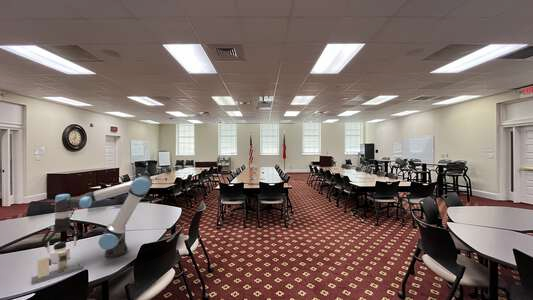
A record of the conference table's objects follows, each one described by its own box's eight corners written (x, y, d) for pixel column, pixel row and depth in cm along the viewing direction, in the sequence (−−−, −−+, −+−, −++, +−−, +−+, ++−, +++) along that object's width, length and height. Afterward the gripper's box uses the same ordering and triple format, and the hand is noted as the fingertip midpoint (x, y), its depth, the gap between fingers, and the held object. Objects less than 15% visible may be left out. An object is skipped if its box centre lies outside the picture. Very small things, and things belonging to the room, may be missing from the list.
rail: (81, 265, 159) (81, 248, 158) (83, 269, 154) (83, 251, 154) (31, 280, 141) (31, 261, 141) (32, 284, 137) (31, 264, 137)
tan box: (58, 267, 156) (58, 252, 156) (66, 265, 159) (65, 250, 159) (59, 270, 152) (59, 255, 152) (67, 268, 155) (67, 253, 155)
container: (69, 258, 169) (69, 240, 169) (60, 263, 162) (60, 245, 161) (59, 258, 169) (59, 240, 169) (49, 263, 161) (49, 245, 161)
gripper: (84, 212, 167) (84, 241, 167) (35, 220, 149) (35, 252, 149) (86, 214, 162) (86, 244, 162) (36, 222, 144) (36, 256, 144)
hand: (62, 248), depth 156 cm, fingers open, 13 cm apart
